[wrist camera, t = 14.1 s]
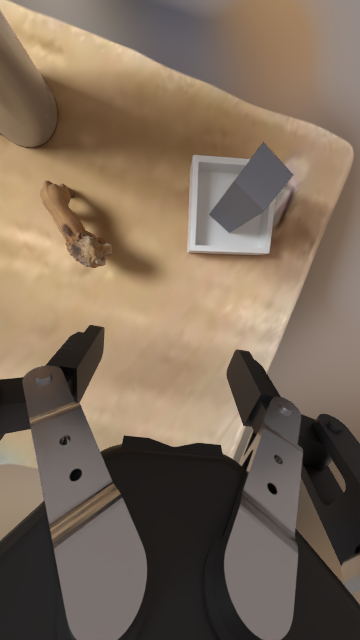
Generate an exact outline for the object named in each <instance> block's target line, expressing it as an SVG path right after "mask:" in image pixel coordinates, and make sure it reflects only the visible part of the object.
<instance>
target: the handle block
mask: <svg viewBox="0 0 360 640" xmlns="http://www.w3.org/2000/svg"><path fill="white" fill-rule="evenodd" d="M292 176H293V174H292V173H291V172H290V171H289V169H288V168H287V167H286V166H285V165H284V164H283V163H282V162H281V161H280V160H279V159H278V158H277V156H276V155H275V154H274V153H273V152H272V151H271V150H270V149H269V148H268V147H267V146H266V145H265V143H264V142H263V143H262V144H261V146H260V147H259V148H258V150H257V151H256V152H255V154H254V155H253V156H252V158H251V159H250V160H249V162H248V163H247V164H246V166H245V167H244V168H243V170H242V171H241V172H240V174H239V175H238V176H237V178H236V179H235V180H234V182H233V183H232V184H231V186H230V187H229V188H228V190H227V191H226V192H225V194H224V195H223V196H222V198H221V199H220V200H219V202H218V203H217V204H216V206H215V207H214V208H213V210H212V211H211V212H210V214H209V215H210V216H211V217H212V218H213V219H214V220H215V221H217V222H218V223H219V224H220V225H221V226H222V227H223V228H224V229H225V230H226V231H228V232H229V233H230V232H232V231H233V230H235V229H237V228H238V227H240V226H242V225H243V224H245V223H246V222H248V221H250V220H251V219H253V218H254V217H256V216H258V215H259V214H261V213H262V212H264V211H265V210H266V209H267V207H268V206H269V205H270V204H271V202H272V201H273V200H274V199H275V197H276V196H277V195H278V194H279V192H280V191H281V190H282V189H283V187H284V186H285V185H286V183H287V182H288V181H289V180H290V178H291V177H292Z"/></svg>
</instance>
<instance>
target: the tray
mask: <svg viewBox="0 0 360 640" xmlns="http://www.w3.org/2000/svg"><path fill="white" fill-rule="evenodd" d="M249 160H250V159H244V158H230V157H217V156H203V155H193V158H192V162H191V167H190V189H189V219H188V248H187V253H209V254H237V255H263V254H269V251H270V243H271V234H272V226H273V218H274V210H275V202H276V197H275V199H274V200H273V201H272V202H271V204H270V205H269V206H268V207H267V209H266V210H265V211H264V212H262V213H261V214H259V215H258V216H256V217H254V218H253V219H251V220H250V221H248V222H246V223H245V224H243V225H242V226H240V227H238V228H237V229H235V230H233V231H232V232H230V233H229V232H228V231H226V230H225V229H224V228H223V227H222V226H221V225H220V224H219V223H218V222H217V221H215V220H214V219H213V218H212V217H211V216H210V215H209V214H210V212H211V211H212V210H213V208H214V207H215V206H216V204H217V203H218V202H219V200H220V199H221V198H222V196H223V195H224V194H225V192H226V191H227V190H228V188H229V187H230V186H231V184H232V183H233V182H234V180H235V179H236V178H237V176H238V175H239V174H240V172H241V171H242V170H243V168H244V167H245V166H246V164H247V163H248V162H249Z"/></svg>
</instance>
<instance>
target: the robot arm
mask: <svg viewBox="0 0 360 640" xmlns="http://www.w3.org/2000/svg"><path fill="white" fill-rule="evenodd" d="M56 124H57V107H56V102H55V100H54V97H53V94H52V92H51V91H50V89H49V87H48V86H47V84H46V82H45V80H44V79H43V78H42V76H41V74H40V73H39V71H38V70H37V68H36V66H35V65H34V63H33V62H32V60H31V58H30V57H29V55H28V54H27V52H26V50H25V49H24V47H23V46H22V44H21V42H20V41H19V39H18V38H17V36H16V34H15V33H14V31H13V30H12V28H11V27H10V25H9V23H8V22H7V20H6V19H5V17H4V15H3V14H2V12H1V11H0V133H1V134H2V135H3V136H5V137H6V138H7V139H8V140H9V141H11V142H13V143H15V144H17V145H20V146H23V147H35V146H39V145H41V144H43V143H45V142H46V141H47V140H49V138H50V137H51V136H52V134H53V132H54V130H55V128H56ZM103 348H104V327H100V326H94V325H90V326H89V327H88V328H87V329H86V331H85V332H84V333H82V332H77V333H75V334H74V335H72V336H70V337H69V338H68V340H67V341H66V342H65V343H64V344H63V345H62V347H61V348H60V349H59V350H58V351H57V353H56V354H55V355H54V356H53V357H52V358H51V360H50V361H49V362H48V363H47V364H46V365H45V366H41V367H37V368H35V369H33V370H31V371H29V372H28V373H27V374H26V375H25V376H24V377H22V378H13V379H2V380H0V440H1V439H2V437H3V436H4V435H5V434H6V433H11V432H16V431H22V430H27V429H31V432H32V437H33V443H34V448H35V454H36V459H37V464H38V470H39V475H40V480H41V485H42V491H43V497H44V501H43V502H42V503H41V504H40V505H39V506H38V507H37V508H36V509H35V510H33V511H32V512H31V513H30V514H29V515H28V516H27V517H26V518H25V519H24V520H23V521H21V522H20V523H19V524H18V525H17V526H16V527H15V528H14V529H13V530H12V531H11V532H9V533H8V534H7V535H6V536H5V537H4V538H3V539H2V540H1V541H0V640H360V443H359V442H358V441H357V440H356V438H355V437H354V436H353V435H352V433H351V432H350V431H349V429H348V428H347V427H346V426H345V425H344V424H343V423H342V422H340V421H339V420H338V419H336V418H334V417H332V416H330V415H327V414H320V415H319V416H318V417H317V419H316V420H315V419H312V418H310V417H307V416H304V415H302V414H301V413H300V411H299V409H298V408H297V407H296V406H295V405H294V404H293V403H292V402H291V401H289V400H287V399H285V398H283V397H281V396H280V395H279V393H278V391H277V390H276V388H275V387H274V385H273V383H272V381H271V380H270V379H269V377H268V375H267V374H266V372H265V370H264V368H263V367H262V366H261V365H260V364H259V363H258V362H257V361H256V360H254V359H253V357H252V355H251V354H250V352H249V351H244V350H236V351H235V352H234V354H233V357H232V359H231V361H230V364H229V366H228V369H227V379H228V382H229V385H230V388H231V391H232V394H233V397H234V400H235V403H236V406H237V408H238V411H239V414H240V417H241V420H242V423H243V426H250V427H252V428H253V431H252V433H251V435H250V437H249V440H248V442H247V445H246V448H245V450H244V452H243V455H242V457H241V460H240V462H239V464H238V463H237V462H236V461H235V460H233V459H232V458H230V457H228V456H226V455H224V454H223V453H222V449H221V445H214V444H204V443H195V444H190V445H184V446H179V447H171V446H169V445H166V444H163V443H161V442H158V441H155V440H153V439H150V438H142V437H132V436H124V438H123V443H122V444H120V445H116V446H112V447H109V448H107V449H105V450H103V451H101V452H100V451H99V448H98V446H97V443H96V441H95V439H94V436H93V434H92V431H91V429H90V427H89V424H88V422H87V419H86V417H85V415H84V412H83V410H82V407H81V405H80V401H81V399H82V397H83V395H84V393H85V391H86V389H87V387H88V385H89V382H90V380H91V378H92V376H93V374H94V372H95V370H96V368H97V366H98V364H99V362H100V360H101V358H102V354H103ZM332 461H333V462H334V463H335V465H336V466H337V468H338V470H339V471H340V473H341V475H342V476H343V478H344V480H345V484H346V490H345V492H344V493H343V491H342V489H341V488H340V486H339V484H338V482H337V481H336V479H335V478H334V475H333V474H332V472H331V471H330V469H329V467H328V465H329V464H330V463H331V462H332ZM300 477H301V478H302V480H303V482H304V484H305V486H306V489H307V491H308V493H309V496H310V498H311V499H312V502H313V504H314V507H315V509H316V511H317V513H318V515H319V518H320V520H321V522H322V524H323V527H324V529H325V530H326V533H327V535H328V538H329V540H330V542H331V544H332V546H333V549H334V551H335V553H336V555H337V558H338V560H339V562H340V564H341V566H342V570H341V572H342V578H343V582H344V585H343V584H342V582H341V581H340V580H339V579H338V578H337V576H336V575H335V574H334V573H333V572H332V571H331V570H330V568H329V567H328V566H327V565H326V564H325V562H324V561H323V560H322V559H321V558H320V557H319V555H318V554H317V553H316V552H315V551H314V550H313V548H312V547H311V546H310V545H309V544H308V542H307V541H306V540H305V539H304V538H303V537H302V535H301V534H300V533H299V532H298V531H297V530H296V528H295V526H296V517H297V506H298V497H299V487H300Z"/></svg>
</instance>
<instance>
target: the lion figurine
mask: <svg viewBox="0 0 360 640" xmlns="http://www.w3.org/2000/svg"><path fill="white" fill-rule="evenodd" d="M40 195H41V199H42V202H43V204H44V206H45V208H46V209H47V210H48V211H49V213H50V214H51V216H52V217H53V219H54V221H55V223H56V225H57V227H58V229H59V230H60V232H61V233H62V235H63V236H64V238H65V239H66V241H67V242H66V245H67V249H68V251H69V252H70V255H71V256H73V257H74V258H75V259H76V261H79V262H80V263H81V264H83V265H85V266H86V267H92V268H96V267H99V266H103V265H105V263H106V262H105V261H106V259H105V256H106V255H108V254H111V253H112V245H111V244H108V243H106V244H104V240H103V239H101V238H99V237H96V236H95V235H94V234H92V233H90V232H88V231H86V230H85V228H84V226H83V225H82V223H81V222H80V220H79V219H78V218H77V216H76V215H75V214H74V212H73V211H72V210H71V209H70V208H69V206H68V204H69V202H70V198H71V197H72V196H73V191H72V190H71V189H70V188H68V187H67V186H66V185H64V184H60V186H58V185H56V184H53V183H51V182H49V181H44V183H43V188H42V189H41V193H40Z"/></svg>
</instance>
